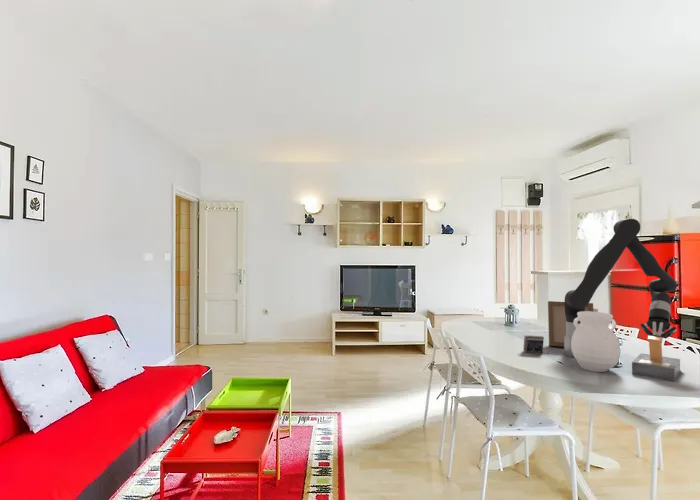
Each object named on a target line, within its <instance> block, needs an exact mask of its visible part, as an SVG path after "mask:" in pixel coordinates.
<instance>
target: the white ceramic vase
mask: <svg viewBox="0 0 700 500" xmlns="http://www.w3.org/2000/svg"><path fill="white" fill-rule="evenodd" d="M577 315H578V317H577V318H575V319H574V321H573V323H574V326H575V327H576V330H575V331H574V333H573V336H572V340H571V349H572V352H573V355H574V357H573V358H574V359H575V360H576V361H577V363H578V365H580V367H581V368H582V369H583V370H585V371H590V372H595V373H605V372H607V371H609V370H611V369H612V368H614V367H615V366H616V365H617V364H618V363H619V361H620V359H621V347H620V342H619V339H618V337H617V336H616V334H615V333H614V330H615V329H616V327H617V322H616V320H615V319H613V318H614V316H613V314H612V313H606V312H601V311H598V312H592V311H581V312H578V313H577ZM578 321H580V322H581V324H580V325H579V326H578V324H577V323H578Z"/></svg>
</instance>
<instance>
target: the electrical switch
mask: <svg viewBox="0 0 700 500" xmlns="http://www.w3.org/2000/svg"><path fill="white" fill-rule="evenodd" d="M523 337H524V338H523V352H525V353H526V354H539V355H543V353H544V352H543V351H544V341H545V340H544V339H545V337H544V336H543V335H534V334H533V335H531V334H526V335H525V334H524V336H523Z"/></svg>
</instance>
